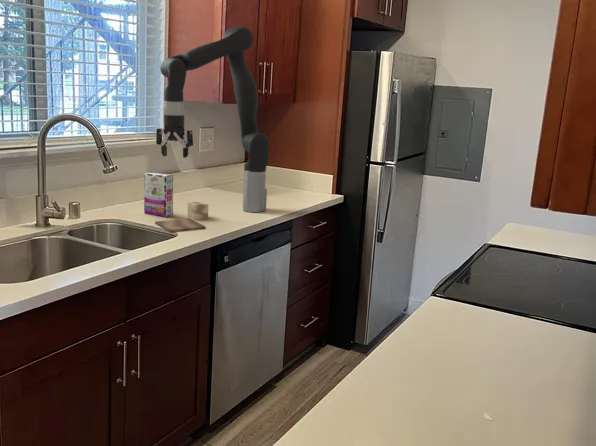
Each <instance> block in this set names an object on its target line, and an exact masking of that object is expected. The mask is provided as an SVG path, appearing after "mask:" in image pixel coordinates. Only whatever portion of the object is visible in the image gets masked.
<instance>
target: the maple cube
mask: <svg viewBox="0 0 596 446" xmlns="http://www.w3.org/2000/svg"><path fill="white" fill-rule="evenodd" d="M187 218H190V219H192V220H194V221H199V220H208V219H209V203H206V202H205V201H188V202H187Z"/></svg>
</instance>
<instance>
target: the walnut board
mask: <svg viewBox="0 0 596 446" xmlns="http://www.w3.org/2000/svg"><path fill="white" fill-rule="evenodd" d="M154 224H155V225H157V226H158V227H160V228H162V229H164V230H165V231H167V232H169V233H175V232H185V231H194V230H195V231H196V230H204V229H205V230H206V226H205V225H204V224H201V223H199V222H197V220H193V219H191V218H189V217H187V218H180V219H178V218H177V219H169V220H168V219H167V220H158V221H154Z"/></svg>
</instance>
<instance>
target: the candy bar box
mask: <svg viewBox="0 0 596 446" xmlns="http://www.w3.org/2000/svg"><path fill="white" fill-rule="evenodd" d="M143 182H144V183H143V189H144V190H143V194H144V195H143V196H144V197H143V198H144V199H143V200H144V201H143V202H144V203H143V204H144V208H143V209H144V210H143V211H144V214H146V215H152V216H156V217H157V216H158V217H164V218H168V217H171V216H173V215H174V175H172V174H167V173H160V172H159V173H158V172H154V171H153V172H152V171H151V172H145V173H144V174H143Z"/></svg>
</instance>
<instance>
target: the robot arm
mask: <svg viewBox="0 0 596 446" xmlns="http://www.w3.org/2000/svg"><path fill="white" fill-rule="evenodd" d="M253 43H254V34H253V33H252V30H250V29H249V28H247V27H244V26H238V27H237V26H236V27H231V28H227V29H226V30H225V32H224V34H223V38H221V39H218V40H215V41H213V42H209V43H206V44H201V45H200V46H196V47H195V48H192V49H189V50H187V51H186V52H184V53H181V54H177V55H174V56H171V57H167V58H165V59H163V61H162V62H161V64H160V65H159V70H160V74H161V75H162V76H164V77H165V78H167V79H168V83H167V84H166V85H165V86H164V89H163V100H164V101H163V126H164V128H161V127H160V128H159V127H158V128H156V139H155V143H156V145H158V146H160V148H161V149H160V150H161V151H160V152H161V153H160V154H161V155H162V157H167V156H168V146H167V145H168V143H169V142H173V141H174V142H179V143H180V145H181V146H182V147H183V148H182V158H184V159H185V158H187V157H188V156H189V148H190V147H192V146H193V145H194V138H193V137H194V135H193V134H194V133H193V130H192V129H188V130H186V129H185V104H184V87H185V84H186V77H187V72H188V71H193V70H197V69H200V68H202V67H203V66H207V65H208V64H211V63H213V62H214V61H216V60H219V59H220V58H223V57H226V56H227V60H228V64H229V68H230V73H231V78H232V83H233V90H234V91H233V92H234V97H235V101H236V107H237V112H238V117H239V124H240V136H241V137H240V138H241V144H242V148H243V149H244V151H245V152H246V153H248V160H247V161H246V162H244V166H243V188H242V189H243V192H242V193H243V194H242V210H243V212H244V211H245V212H248V213H261V212H264V211H267V200H268V198H267V196H268V189H267V188H266V180H267V179H266V178H267V177H266V176H267V175H266V174H267V167H268V165H269V158H270V157H269V155H270V140H269V138H268V136H267V135H266V134H264V133H261V132H259V129H258V124H257V112H258V107H259V106H258V105H259V93H258V87H257V83H256V81H255V78H254V76H253V75H252V73H251V71H250V69H249V68H248V66H247V63H246V59H245V53H244V52H247V51H248V50H250V49H251V47H252V46H253ZM163 134H164V135H165V136H164V137H163ZM185 136H186V138H185Z"/></svg>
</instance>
